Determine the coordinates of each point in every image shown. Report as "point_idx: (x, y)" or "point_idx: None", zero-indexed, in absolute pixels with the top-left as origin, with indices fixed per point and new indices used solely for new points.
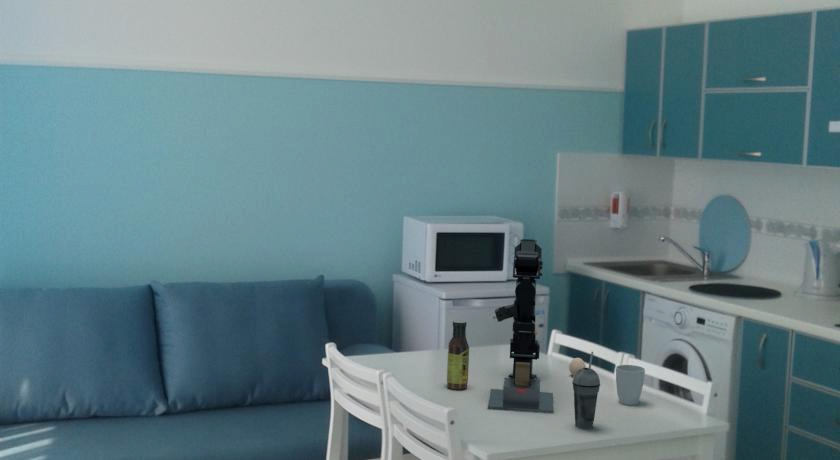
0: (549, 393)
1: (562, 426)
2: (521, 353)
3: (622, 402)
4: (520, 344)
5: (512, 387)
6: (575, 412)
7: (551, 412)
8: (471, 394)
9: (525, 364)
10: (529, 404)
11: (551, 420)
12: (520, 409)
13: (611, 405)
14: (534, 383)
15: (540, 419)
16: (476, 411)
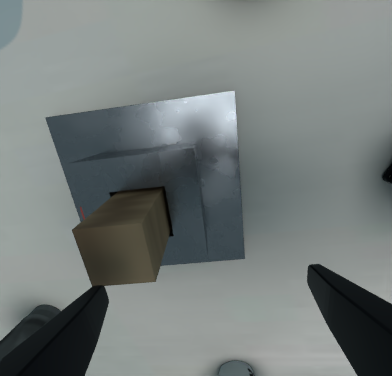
0: (235, 252)
1: (26, 286)
2: (93, 289)
3: (223, 367)
4: (20, 353)
5: (77, 192)
6: (11, 332)
7: None
8: (179, 31)
9: (114, 267)
10: None
11: (51, 266)
12: (76, 202)
13: (205, 350)
14: None
15: (45, 246)
16: (14, 90)
